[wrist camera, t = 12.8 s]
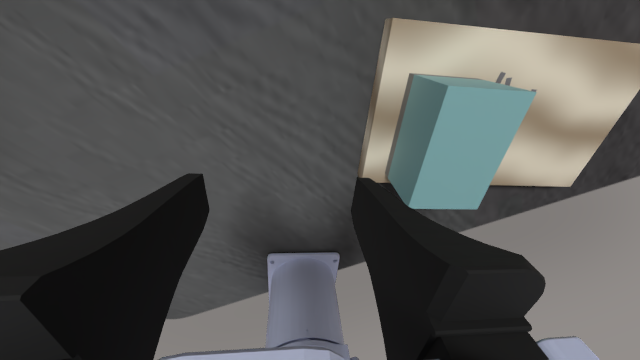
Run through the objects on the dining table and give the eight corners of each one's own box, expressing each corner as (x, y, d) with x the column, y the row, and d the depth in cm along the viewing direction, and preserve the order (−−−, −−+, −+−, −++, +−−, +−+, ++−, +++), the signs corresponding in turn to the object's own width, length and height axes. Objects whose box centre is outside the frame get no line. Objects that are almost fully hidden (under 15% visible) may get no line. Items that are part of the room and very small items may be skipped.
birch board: (556, 178, 25) (570, 186, 24) (357, 173, 22) (361, 182, 21) (643, 46, 19) (669, 47, 18) (385, 19, 16) (393, 17, 15)
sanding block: (440, 174, 22) (477, 209, 17) (384, 173, 21) (407, 208, 17) (477, 78, 17) (536, 92, 13) (409, 73, 17) (448, 85, 13)
